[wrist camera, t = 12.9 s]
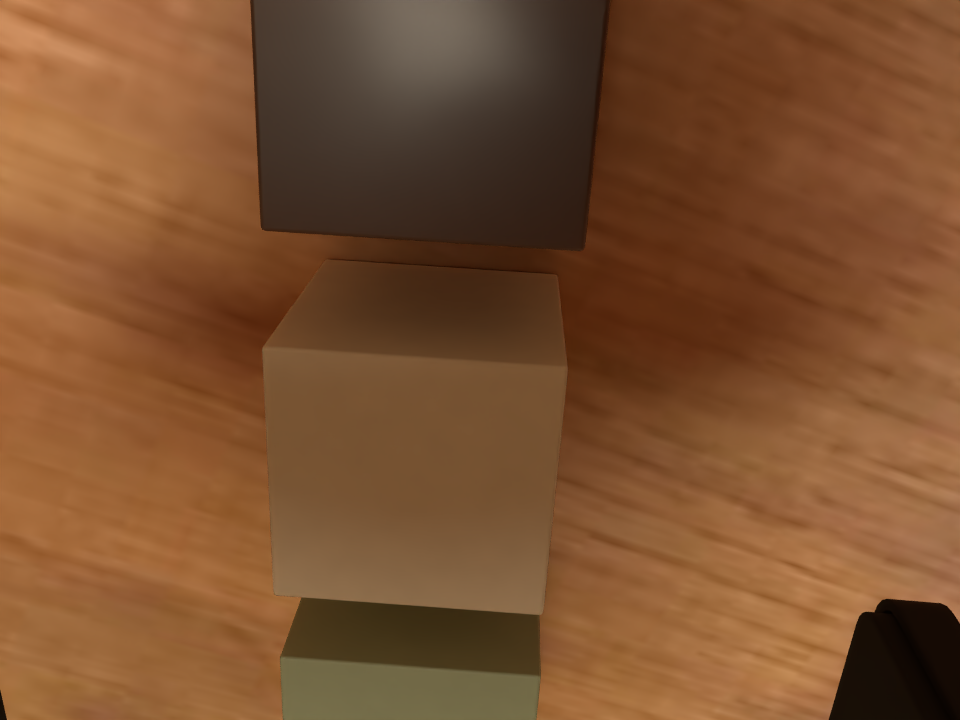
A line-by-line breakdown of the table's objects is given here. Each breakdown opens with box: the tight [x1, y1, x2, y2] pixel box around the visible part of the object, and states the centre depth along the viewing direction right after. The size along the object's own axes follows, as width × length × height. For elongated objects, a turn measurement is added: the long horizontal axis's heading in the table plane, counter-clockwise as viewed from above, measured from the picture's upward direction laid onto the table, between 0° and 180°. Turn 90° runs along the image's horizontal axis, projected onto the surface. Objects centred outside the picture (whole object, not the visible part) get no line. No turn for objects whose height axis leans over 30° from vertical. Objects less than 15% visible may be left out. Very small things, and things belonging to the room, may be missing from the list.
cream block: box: [262, 259, 568, 615], centre depth 16 cm, size 4×4×4 cm
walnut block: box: [250, 0, 611, 251], centre depth 13 cm, size 4×4×4 cm
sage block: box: [280, 597, 541, 720], centre depth 18 cm, size 4×4×4 cm
